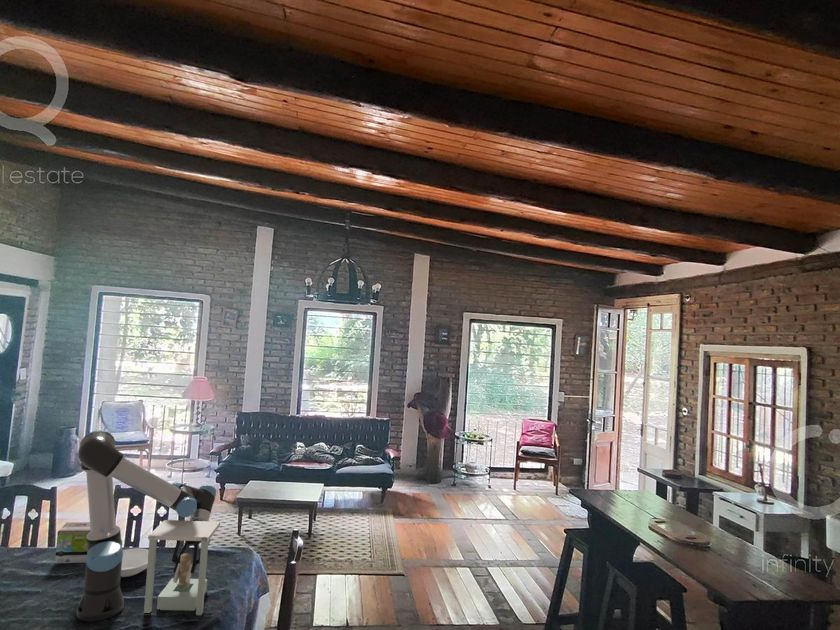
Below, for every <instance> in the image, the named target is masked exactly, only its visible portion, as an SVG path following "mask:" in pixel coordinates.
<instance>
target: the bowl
mask: <svg viewBox="0 0 840 630" xmlns="http://www.w3.org/2000/svg"><path fill="white" fill-rule="evenodd" d="M148 552H149V549H147V548H141V547H140V548H136V547H135V548H128V549H123V557H122V566H121V578H128V577H132V576H135V575H137V574H140V573H141V572H143V571H144V570H147V565H148Z"/></svg>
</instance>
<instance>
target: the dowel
mask: <svg viewBox="0 0 840 630" xmlns="http://www.w3.org/2000/svg"><path fill="white" fill-rule="evenodd" d="M192 554H193V553H190V552H186V553H184V554H182V555H181V558H180V573H179V577H178V578H179V588H186V587H188V586H189V585H190V581H189V583H186V577H187V574H188V570H189V567H190V564H191V563H192V558H193V555H192Z"/></svg>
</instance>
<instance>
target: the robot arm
mask: <svg viewBox="0 0 840 630" xmlns="http://www.w3.org/2000/svg"><path fill="white" fill-rule="evenodd" d="M77 455H78V460H79V461H80V467H81V468H80V469H81V470H82V471H83V472H84V473H86V483H87V484H86V486H87V499H88V514H89V515H88V516H89V522H90V530H91V531H90V532H89V533H88V535H87V536H86V538H87V556H86V564H85V572H84V575H85V576H84V584H83V585H84V586H83V587H84V588H83V594H82V596H81V598H80V601H79V603H78V605H77V608H76V618H77V619H78V620H79V621H83V622H99V621H104V620H107V619H110V618H112V617H114V616H116V615H118V614H119V613H120V612H121V611H122V610H123V608H124V605H125V604H124V603H125V599H124V598H125V597H124V595H123V591H122V589H121V578H122V577H121V566H122V557H123V550H124V549H123V540H122V532H121V526H119V525H117V524H116V523H117V522H116V512H115V496H114V495H115V494H114V481H113V479H115V480H117V481H119V482H121V483H123V484H125V485H127V486H128V487H130V488H132V489H134V490H136V491H138V492H140V493H141V494H143V495H146V496H147V497H149V498H151V499H153V500H155V501H157V502H158V503H161V504H162V505H164V506H166V507H168V508H170V509H171V510H173V511H175V512H176V514H177V515H178V516H179V517H182V518H189V521H210V517H211V513H212V510H213V506H214V503H215V501H216V496H217V490H216V488H215V487H214V486H213V485H206V484H204V485H200V487H199V488H197V487H194V486H190V485H187V484H184V483H181V482H176V481H175V482H173V483H171V482H168V481H167V480H164V479H163V478H161V477H159V476H158V475H155V474H154V473H152V472H150V471H149V470H147V469H145V468H143V467H141V466H140V465H137V464H136V463H135V462H133V461H131V460H129V459H127V458H126V457H125V455H126V454H124V453H123V452H121V451H119V450H118V449H117V448H116V439H115V437H114V436H113V435H112V434H111V432H109V431H106V430H104V429H103V430H102V429H97V430H93V431H91V432H89V433H87V434H86V435H85V436H84V437H83V438H82V439H81V441H80V443H79V449H78V452H77ZM210 542H211V539H210V540H209V541H208V545H209V544H210ZM182 543H183V541H182V540H176V543H175V546H174V551H173V555H172V558H171V561H172V563H173V564H175V565H174V568H173V574H174V576H173V578H174V579H173V581H174V583H177V580H178V578H179V573H180V558H181V555H182V554H184V553H188V550H189V548H190V547H191V546H193V555H192V560H191V564H190V567H189V570H188V574H187V577H186V583H189V581H190V579H192V578H191V577H192V575H193V574H194V573H195V571H196V570H197V569H196V568H197V566H198V565H200V554H201V552H200V553H199V550H200V549H199V548H200V545H201V541H184V545H183V547H182V548H181V546H182ZM180 549H181V551H180ZM194 575H195V574H194Z"/></svg>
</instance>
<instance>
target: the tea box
mask: <svg viewBox="0 0 840 630" xmlns="http://www.w3.org/2000/svg"><path fill="white" fill-rule="evenodd" d="M90 531H91V530H90V521H81V522H80V521H79V522H78V521H77V522H72V521H71V522H70V521H69V522H65V523H64V525H63V526H61V528H59V529H58V531H57V533H56V535H57V536H56V546H55V555H54V556H55V558H54V564H57V565H58V564H71V563H72V564H73V563H76V564H77V563H78V564H79V563H82V564H83V563H86V556H87V538H86V536H87V535H88V533H89V532H90Z"/></svg>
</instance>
